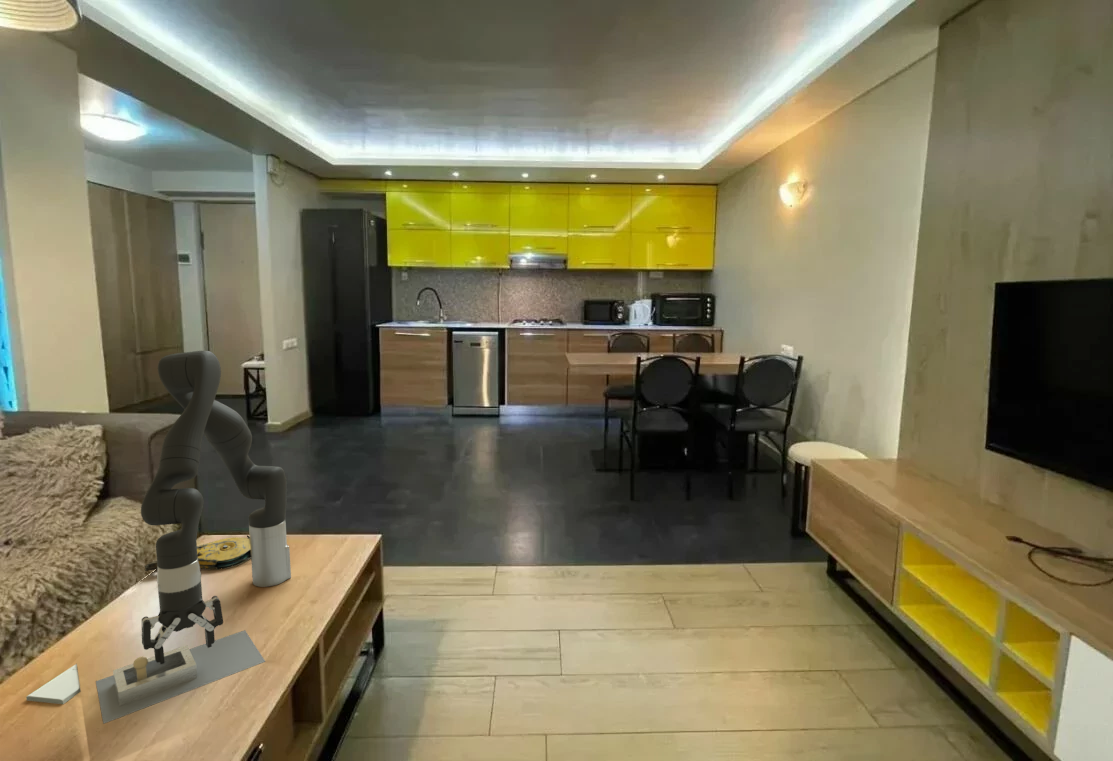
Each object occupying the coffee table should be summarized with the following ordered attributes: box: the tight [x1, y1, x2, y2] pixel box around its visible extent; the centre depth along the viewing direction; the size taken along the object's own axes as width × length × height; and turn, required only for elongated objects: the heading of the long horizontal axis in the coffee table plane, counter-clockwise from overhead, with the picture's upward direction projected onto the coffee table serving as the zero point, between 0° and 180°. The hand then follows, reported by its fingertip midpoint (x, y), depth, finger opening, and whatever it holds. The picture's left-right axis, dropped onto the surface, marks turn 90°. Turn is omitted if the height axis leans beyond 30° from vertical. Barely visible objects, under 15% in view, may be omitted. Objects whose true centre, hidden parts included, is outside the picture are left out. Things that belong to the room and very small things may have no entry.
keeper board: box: [95, 629, 266, 724], centre depth 122 cm, size 28×16×7 cm, turn 132°
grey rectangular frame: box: [112, 644, 197, 707], centre depth 119 cm, size 13×9×3 cm
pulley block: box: [144, 535, 251, 572], centre depth 174 cm, size 14×6×30 cm
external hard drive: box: [25, 663, 82, 705], centre depth 120 cm, size 2×8×12 cm
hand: (185, 653), depth 122 cm, fingers open, 8 cm apart
